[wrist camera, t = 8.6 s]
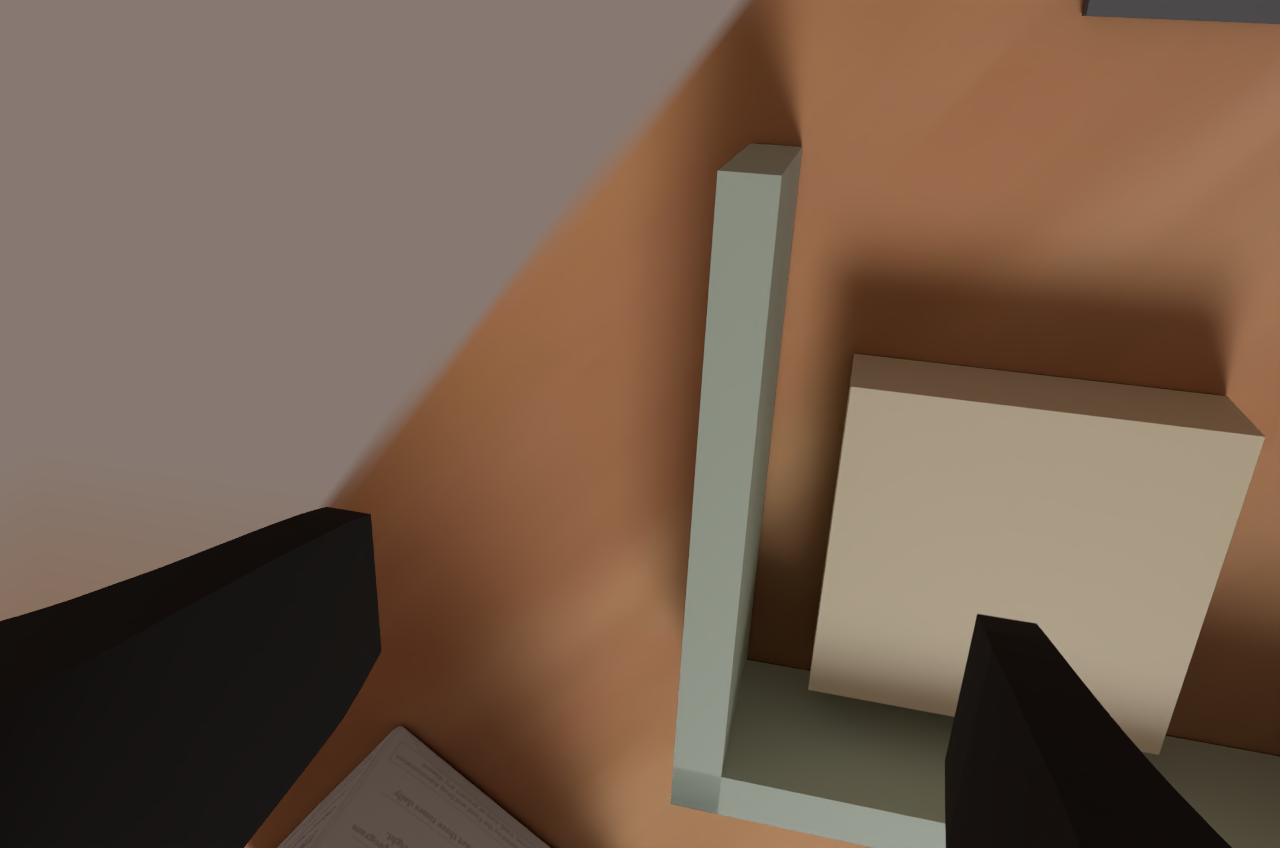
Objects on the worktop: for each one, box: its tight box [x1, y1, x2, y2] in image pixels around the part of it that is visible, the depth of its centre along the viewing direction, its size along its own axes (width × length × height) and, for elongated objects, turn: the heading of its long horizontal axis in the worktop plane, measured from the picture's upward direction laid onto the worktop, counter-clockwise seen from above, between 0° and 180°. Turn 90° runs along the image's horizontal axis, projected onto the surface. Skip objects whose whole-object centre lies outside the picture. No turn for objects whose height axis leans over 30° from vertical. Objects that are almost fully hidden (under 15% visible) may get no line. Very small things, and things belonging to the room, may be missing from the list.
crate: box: [671, 143, 1280, 848], centre depth 18 cm, size 15×13×4 cm
